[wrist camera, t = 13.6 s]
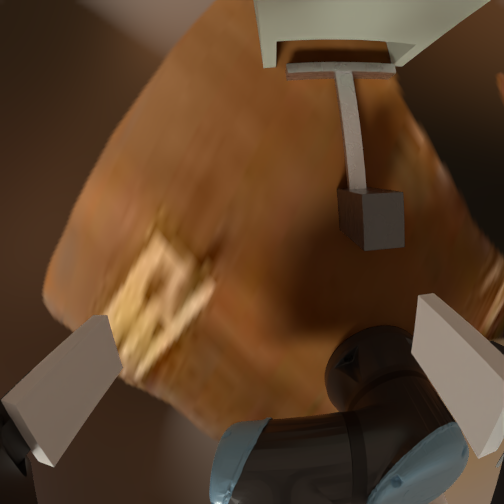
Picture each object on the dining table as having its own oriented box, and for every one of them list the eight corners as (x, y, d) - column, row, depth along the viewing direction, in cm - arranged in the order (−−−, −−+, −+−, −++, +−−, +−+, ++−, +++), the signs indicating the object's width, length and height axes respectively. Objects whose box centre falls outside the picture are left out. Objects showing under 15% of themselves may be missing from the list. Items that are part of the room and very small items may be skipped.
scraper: (402, 224, 37) (444, 242, 26) (303, 233, 38) (315, 255, 27) (386, 70, 32) (421, 40, 22) (285, 71, 34) (289, 34, 23)
